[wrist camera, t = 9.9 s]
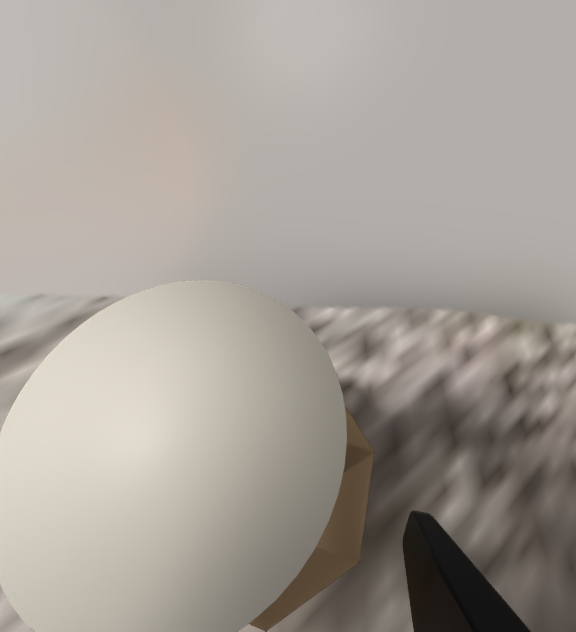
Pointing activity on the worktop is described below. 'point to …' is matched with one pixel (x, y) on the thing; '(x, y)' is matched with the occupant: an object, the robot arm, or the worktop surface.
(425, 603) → the robot arm
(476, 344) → the worktop surface
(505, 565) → the worktop surface
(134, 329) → the dowel
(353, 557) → the tan open ring
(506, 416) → the worktop surface
